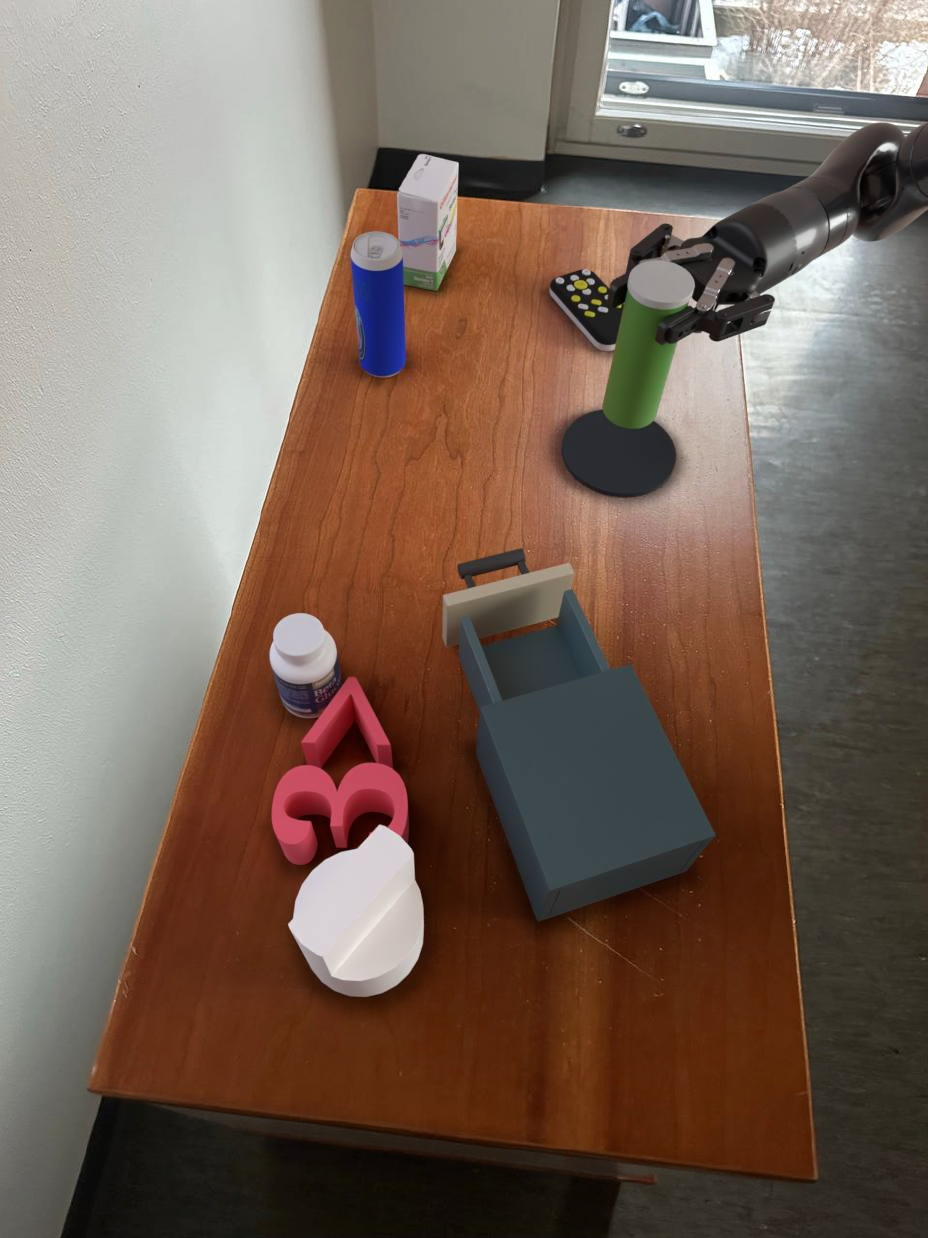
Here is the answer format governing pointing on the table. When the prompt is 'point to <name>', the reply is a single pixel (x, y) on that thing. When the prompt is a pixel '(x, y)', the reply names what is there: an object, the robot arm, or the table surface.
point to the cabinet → (588, 791)
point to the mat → (617, 456)
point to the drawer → (515, 606)
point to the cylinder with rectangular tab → (362, 916)
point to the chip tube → (644, 343)
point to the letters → (357, 790)
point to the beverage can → (379, 303)
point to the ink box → (428, 220)
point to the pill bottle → (305, 665)
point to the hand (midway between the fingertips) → (635, 315)
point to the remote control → (588, 306)
